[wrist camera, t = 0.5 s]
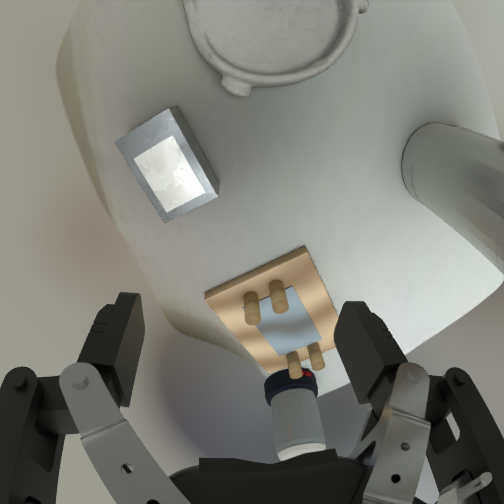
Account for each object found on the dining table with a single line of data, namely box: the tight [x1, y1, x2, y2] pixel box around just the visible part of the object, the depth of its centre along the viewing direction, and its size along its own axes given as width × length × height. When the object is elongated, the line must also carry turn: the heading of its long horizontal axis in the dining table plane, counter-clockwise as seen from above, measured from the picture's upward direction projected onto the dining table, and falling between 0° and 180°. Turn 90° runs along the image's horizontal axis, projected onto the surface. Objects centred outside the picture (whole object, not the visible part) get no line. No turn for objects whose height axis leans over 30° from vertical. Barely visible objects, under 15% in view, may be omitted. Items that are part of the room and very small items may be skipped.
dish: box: [183, 0, 369, 97], centre depth 16 cm, size 14×14×5 cm
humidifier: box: [264, 368, 326, 461], centre depth 32 cm, size 8×8×25 cm
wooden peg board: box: [204, 246, 339, 379], centre depth 33 cm, size 16×12×5 cm
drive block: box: [115, 106, 220, 223], centre depth 23 cm, size 5×8×4 cm, turn 25°
